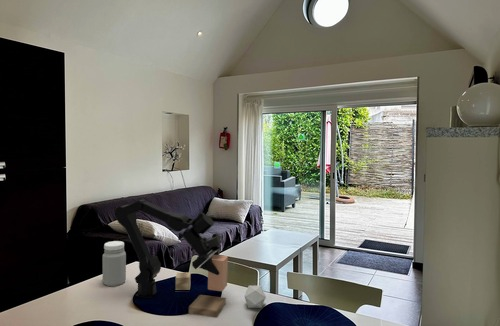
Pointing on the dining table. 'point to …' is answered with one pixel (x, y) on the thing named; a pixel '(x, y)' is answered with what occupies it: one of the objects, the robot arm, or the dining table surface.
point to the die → (255, 296)
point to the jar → (114, 263)
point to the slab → (207, 305)
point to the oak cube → (183, 281)
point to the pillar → (219, 280)
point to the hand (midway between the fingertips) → (221, 271)
